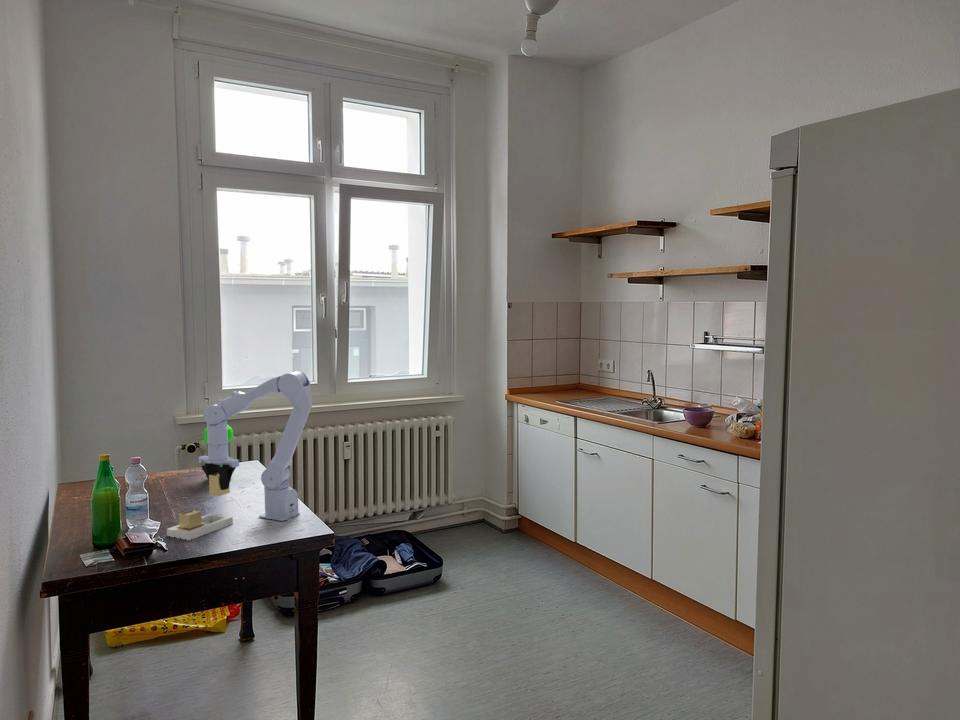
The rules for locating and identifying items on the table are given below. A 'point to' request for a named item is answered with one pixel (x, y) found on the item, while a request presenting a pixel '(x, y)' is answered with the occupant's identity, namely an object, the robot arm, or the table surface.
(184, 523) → the seated billet
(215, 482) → the brass billet
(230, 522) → the tray
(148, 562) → the table surface
